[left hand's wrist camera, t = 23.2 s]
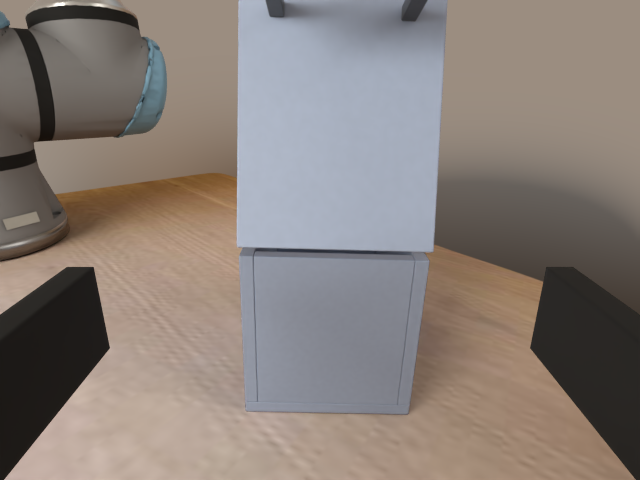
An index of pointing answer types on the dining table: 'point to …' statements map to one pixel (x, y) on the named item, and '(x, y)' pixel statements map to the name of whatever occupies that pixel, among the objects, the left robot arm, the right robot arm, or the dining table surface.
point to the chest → (330, 329)
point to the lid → (339, 123)
